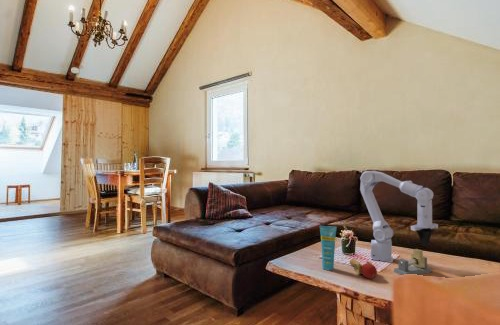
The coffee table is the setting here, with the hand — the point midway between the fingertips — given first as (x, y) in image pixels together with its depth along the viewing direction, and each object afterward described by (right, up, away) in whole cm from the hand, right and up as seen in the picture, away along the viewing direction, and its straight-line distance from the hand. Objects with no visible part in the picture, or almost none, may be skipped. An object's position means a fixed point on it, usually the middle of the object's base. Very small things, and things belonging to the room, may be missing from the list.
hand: (424, 245), depth 131 cm
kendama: (-30, -11, -4) cm, 32 cm away
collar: (-5, -8, -3) cm, 10 cm away
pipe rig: (-8, -10, -4) cm, 13 cm away
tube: (-43, -11, 0) cm, 45 cm away
